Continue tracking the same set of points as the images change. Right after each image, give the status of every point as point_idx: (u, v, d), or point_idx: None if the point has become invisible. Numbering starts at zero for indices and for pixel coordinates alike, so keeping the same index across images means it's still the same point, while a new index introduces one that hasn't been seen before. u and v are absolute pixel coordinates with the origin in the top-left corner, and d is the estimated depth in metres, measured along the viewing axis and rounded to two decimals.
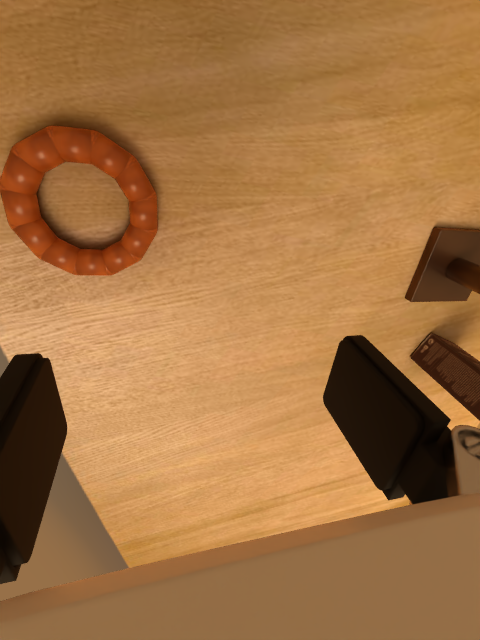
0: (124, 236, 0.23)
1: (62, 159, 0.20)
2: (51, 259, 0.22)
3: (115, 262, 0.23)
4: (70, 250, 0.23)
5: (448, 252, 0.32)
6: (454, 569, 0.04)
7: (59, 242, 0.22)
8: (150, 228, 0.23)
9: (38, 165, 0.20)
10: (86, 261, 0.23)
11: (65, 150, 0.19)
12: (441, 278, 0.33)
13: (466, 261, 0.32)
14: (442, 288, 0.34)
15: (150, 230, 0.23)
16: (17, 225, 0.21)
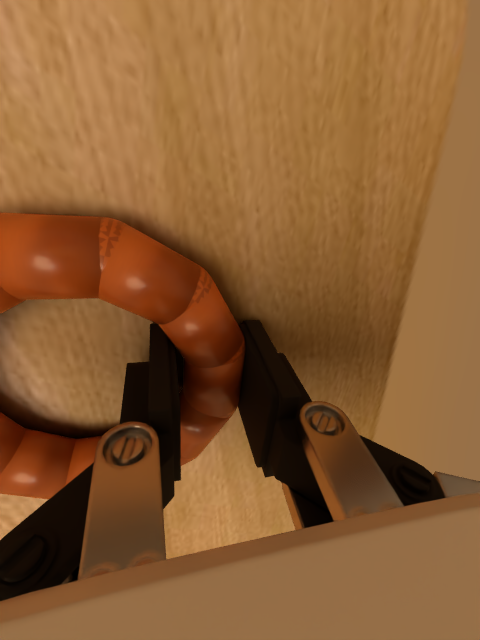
0: (36, 454, 0.10)
1: (190, 365, 0.09)
2: None
3: None
4: None
5: None
6: (454, 569, 0.04)
7: None
8: None
9: (174, 331, 0.08)
10: None
11: (209, 379, 0.09)
12: None
13: None
14: None
15: None
16: None
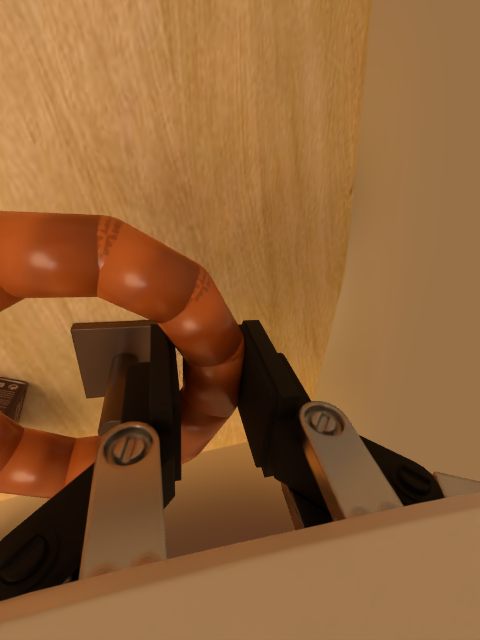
0: (35, 453, 0.10)
1: (189, 364, 0.09)
2: None
3: None
4: None
5: (143, 345, 0.28)
6: (454, 569, 0.04)
7: None
8: None
9: (173, 329, 0.08)
10: None
11: (208, 378, 0.09)
12: (110, 354, 0.28)
13: None
14: (97, 361, 0.28)
15: None
16: None
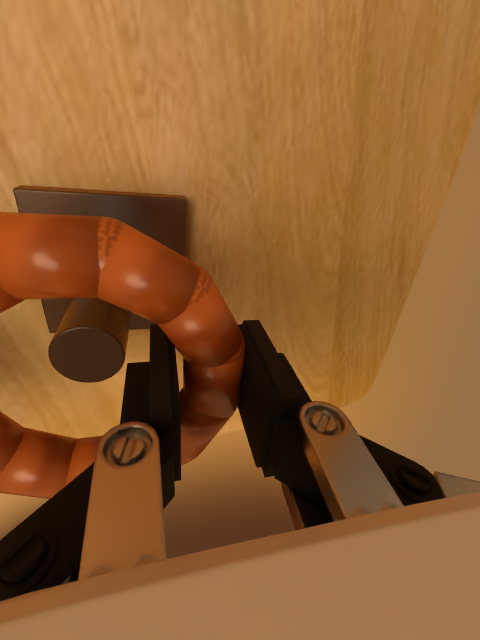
0: (36, 453, 0.10)
1: (190, 365, 0.09)
2: None
3: None
4: None
5: None
6: (454, 569, 0.04)
7: None
8: None
9: (174, 330, 0.08)
10: None
11: (209, 379, 0.09)
12: None
13: None
14: None
15: None
16: None
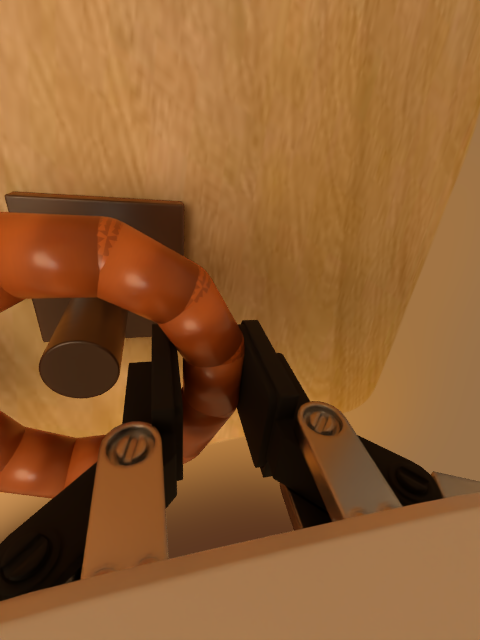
0: (35, 453, 0.10)
1: (189, 364, 0.09)
2: None
3: None
4: None
5: None
6: (454, 569, 0.04)
7: None
8: None
9: (173, 330, 0.08)
10: None
11: (208, 379, 0.09)
12: None
13: None
14: None
15: None
16: None
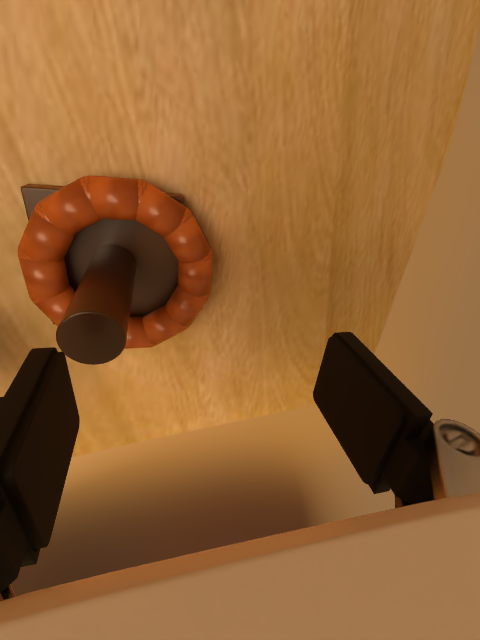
0: None
1: (181, 263, 0.17)
2: (39, 229, 0.15)
3: (54, 310, 0.17)
4: (61, 253, 0.16)
5: (143, 233, 0.18)
6: (454, 569, 0.04)
7: (70, 239, 0.16)
8: None
9: (173, 239, 0.16)
10: (48, 275, 0.16)
11: (191, 271, 0.17)
12: (90, 243, 0.17)
13: (134, 267, 0.17)
14: (69, 256, 0.17)
15: None
16: (89, 196, 0.14)
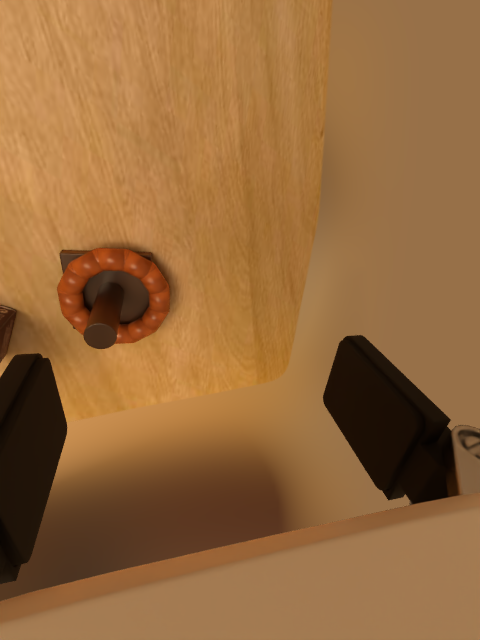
0: None
1: (150, 293, 0.30)
2: (70, 277, 0.27)
3: (76, 321, 0.29)
4: (81, 289, 0.28)
5: (128, 275, 0.30)
6: (454, 569, 0.04)
7: (86, 281, 0.28)
8: None
9: (144, 281, 0.29)
10: (73, 301, 0.28)
11: (156, 298, 0.30)
12: (97, 282, 0.30)
13: (122, 295, 0.30)
14: (84, 289, 0.30)
15: None
16: (97, 260, 0.27)
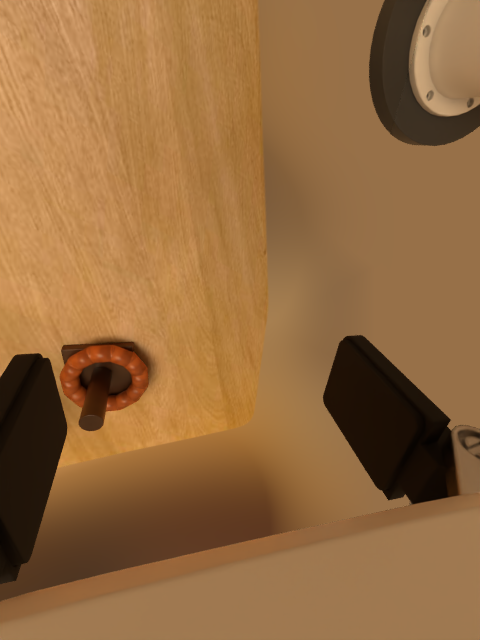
0: None
1: (132, 375, 0.38)
2: (69, 370, 0.35)
3: (74, 398, 0.37)
4: (78, 376, 0.36)
5: None
6: (454, 569, 0.04)
7: (82, 370, 0.36)
8: None
9: (127, 368, 0.37)
10: (72, 385, 0.37)
11: (136, 379, 0.38)
12: (90, 367, 0.38)
13: (110, 377, 0.38)
14: (81, 372, 0.38)
15: None
16: (90, 357, 0.35)
